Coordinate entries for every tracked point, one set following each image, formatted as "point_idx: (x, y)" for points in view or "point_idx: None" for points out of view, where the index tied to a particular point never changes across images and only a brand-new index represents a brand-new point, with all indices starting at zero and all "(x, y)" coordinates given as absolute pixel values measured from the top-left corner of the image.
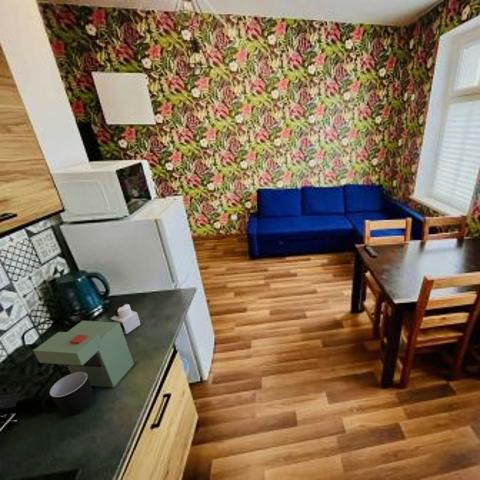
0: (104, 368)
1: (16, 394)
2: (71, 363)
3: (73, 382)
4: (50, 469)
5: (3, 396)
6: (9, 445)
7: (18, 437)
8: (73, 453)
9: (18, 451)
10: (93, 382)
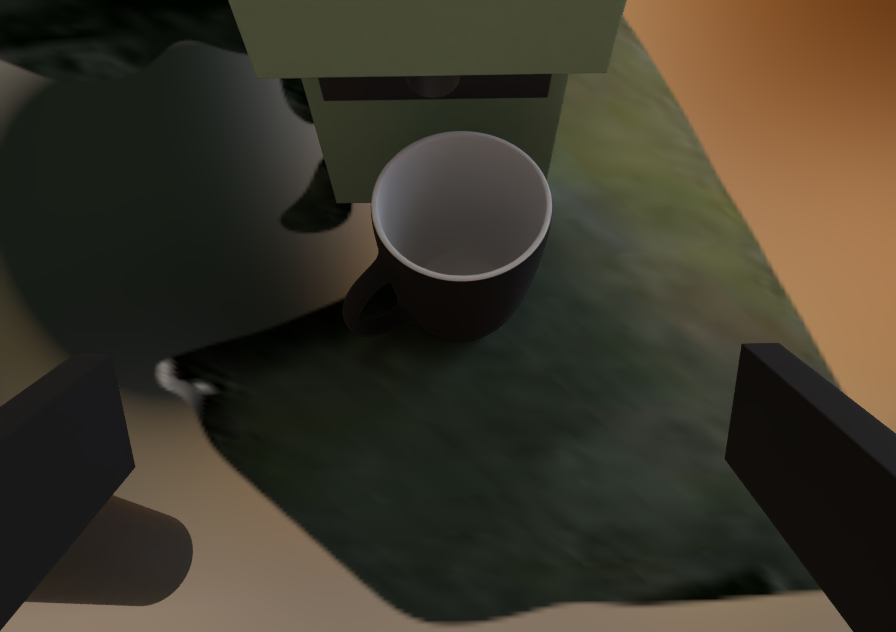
0: (551, 105)
1: (801, 362)
2: (527, 62)
3: (412, 193)
4: (619, 587)
5: (890, 436)
6: (292, 501)
7: (299, 462)
8: (658, 507)
9: (368, 523)
10: None
